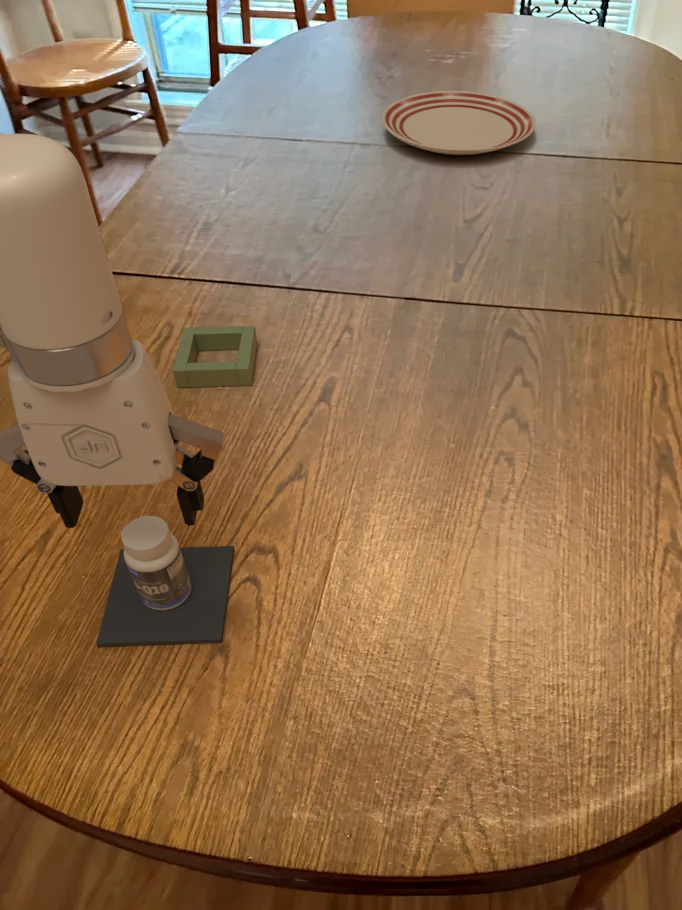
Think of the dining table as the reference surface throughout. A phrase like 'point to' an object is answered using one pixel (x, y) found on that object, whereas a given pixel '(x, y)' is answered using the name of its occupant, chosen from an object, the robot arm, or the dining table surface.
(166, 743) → the dining table surface
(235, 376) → the stand
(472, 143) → the dinner plate
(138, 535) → the pill bottle
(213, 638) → the mat
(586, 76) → the dining table surface
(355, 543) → the dining table surface
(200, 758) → the dining table surface
